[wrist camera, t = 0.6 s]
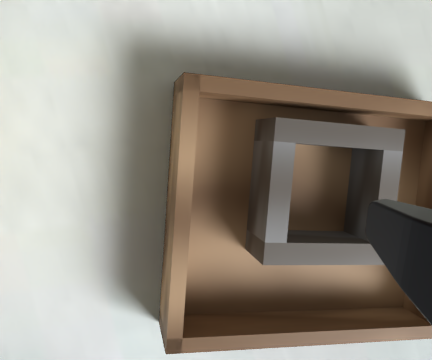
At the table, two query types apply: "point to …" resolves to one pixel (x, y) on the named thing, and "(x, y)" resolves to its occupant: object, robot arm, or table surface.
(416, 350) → the table surface
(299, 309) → the walled box
